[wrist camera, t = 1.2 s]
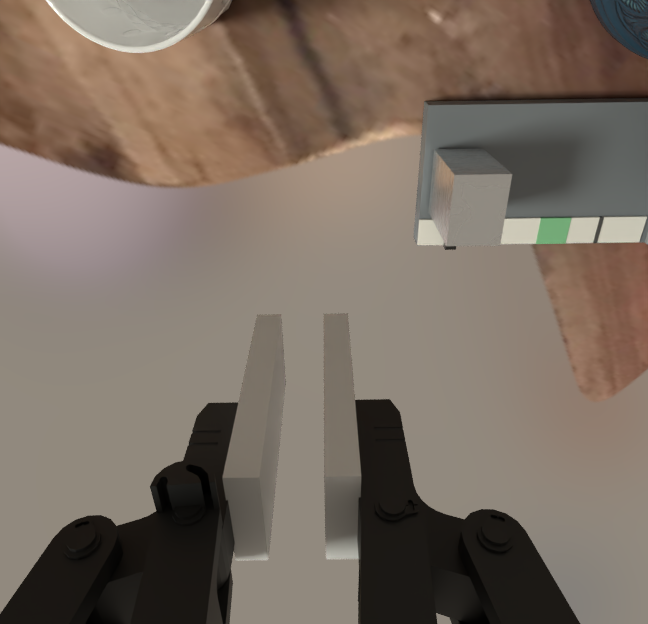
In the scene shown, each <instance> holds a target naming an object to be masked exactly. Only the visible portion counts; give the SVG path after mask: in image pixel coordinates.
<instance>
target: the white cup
mask: <svg viewBox="0 0 648 624" xmlns="http://www.w3.org/2000/svg"><path fill="white" fill-rule="evenodd" d="M46 1H47V3H48V4H49V5H50V6H51V8H52V9H53V10H54V11H55V12H56V13H57V14H58V15H59V16H60V17H61V18H62V19H63V20H64V21H65V22H66V23H67V24H68V25H69V26H71V27H72V28H73V29H74V30H76V31H77V32H79V33H80V34H82V35H83V36H85V37H86V38H88V39H90V40H92V41H93V42H95V43H98V44H100V45H102V46H105V47H107V48H110V49H114V50H118V51H123V52H130V53H146V52H153V51H158V50H161V49H164V48H167V47H169V46H172V45H174V44H176V43H178V42H180V41H182V40H184V39H186V38H189V37H191V36H193V35H195V34H197V33H199V32H200V31H202V30H203V29H205V28H206V27H208V26H209V25H211V24H212V23H213V22H215V21H216V20H217V18H218V17H219V16H220V15H222V14H223V13H224V12H225V11H226V10H228V9H229V7H230V4H231V2H232V0H46Z"/></svg>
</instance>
